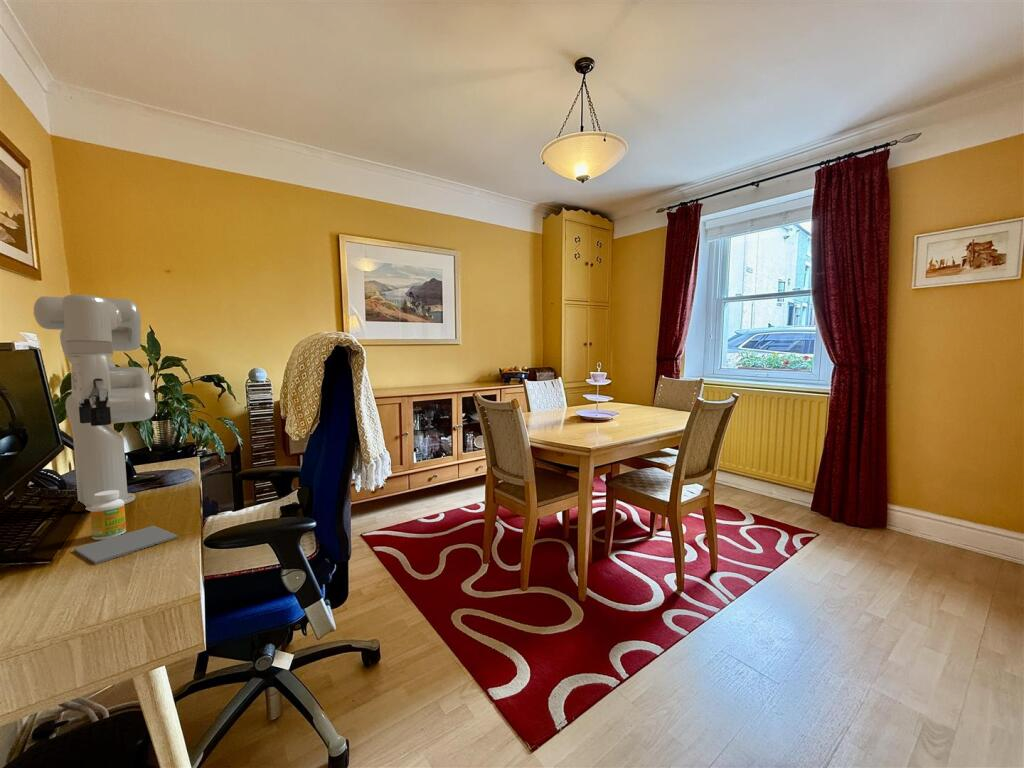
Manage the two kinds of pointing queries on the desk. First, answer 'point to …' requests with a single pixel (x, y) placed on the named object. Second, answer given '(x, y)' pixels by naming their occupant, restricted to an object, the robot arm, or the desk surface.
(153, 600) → the desk surface
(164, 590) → the desk surface
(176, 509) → the desk surface
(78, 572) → the desk surface
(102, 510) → the supplement bottle
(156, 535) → the rubber mat
